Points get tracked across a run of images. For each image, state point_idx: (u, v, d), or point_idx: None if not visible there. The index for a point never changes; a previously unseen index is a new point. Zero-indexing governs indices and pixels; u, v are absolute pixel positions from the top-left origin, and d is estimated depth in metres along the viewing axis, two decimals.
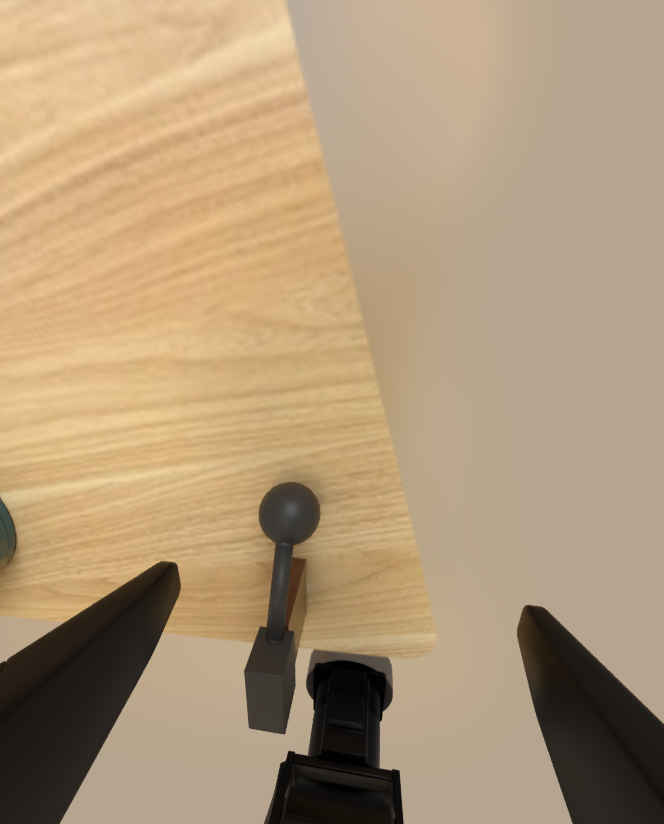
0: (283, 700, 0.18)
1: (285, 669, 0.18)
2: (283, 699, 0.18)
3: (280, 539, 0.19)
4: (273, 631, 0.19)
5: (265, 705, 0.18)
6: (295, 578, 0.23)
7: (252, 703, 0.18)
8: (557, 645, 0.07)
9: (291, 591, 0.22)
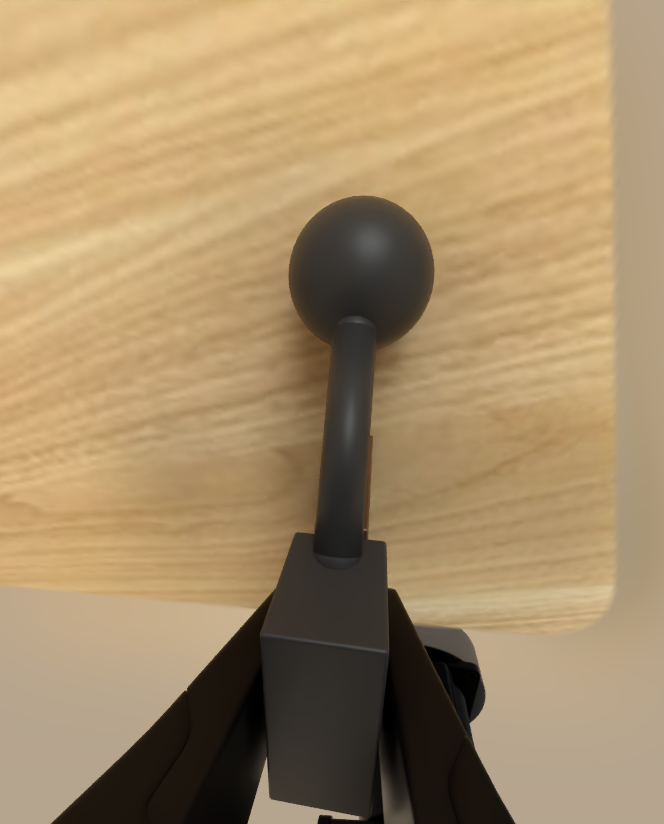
0: (379, 726, 0.06)
1: None
2: (379, 723, 0.06)
3: (349, 304, 0.07)
4: (337, 532, 0.07)
5: (321, 740, 0.06)
6: None
7: (282, 734, 0.06)
8: None
9: None
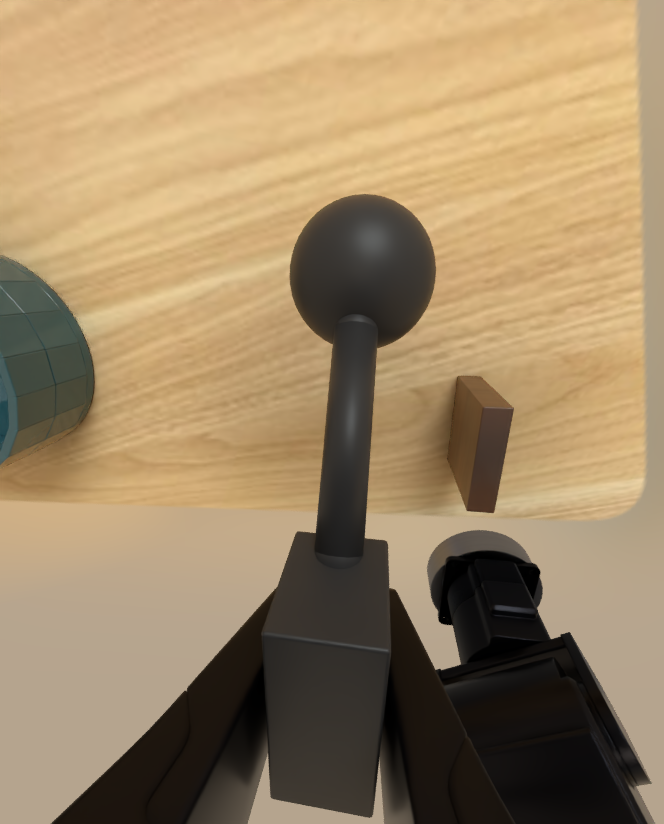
0: (381, 726, 0.06)
1: (389, 630, 0.06)
2: (381, 723, 0.06)
3: (350, 302, 0.07)
4: (338, 531, 0.07)
5: (323, 739, 0.06)
6: (482, 384, 0.17)
7: (283, 733, 0.06)
8: None
9: (488, 391, 0.16)
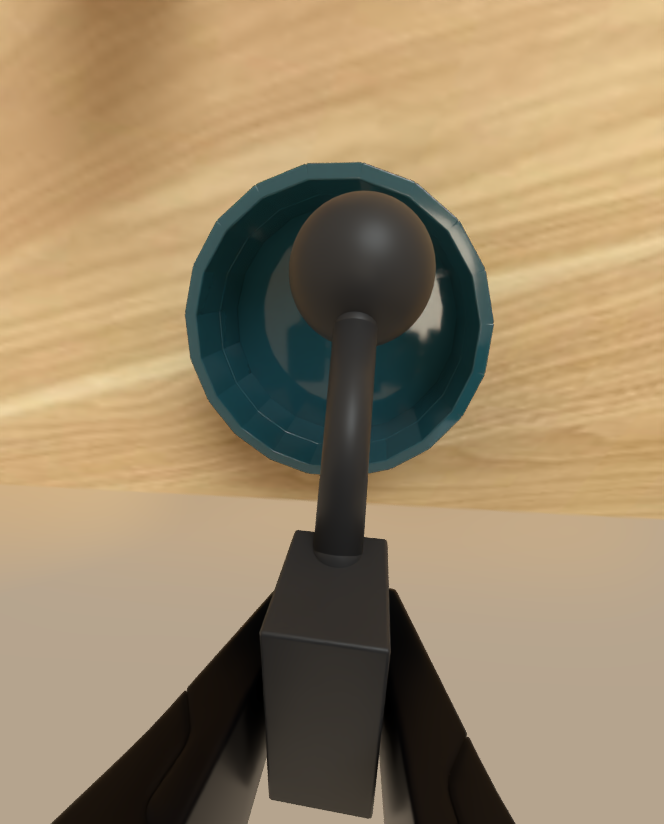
0: (380, 726, 0.06)
1: (388, 629, 0.06)
2: (380, 723, 0.06)
3: (350, 299, 0.07)
4: (337, 530, 0.07)
5: (321, 740, 0.06)
6: None
7: (282, 733, 0.06)
8: None
9: None
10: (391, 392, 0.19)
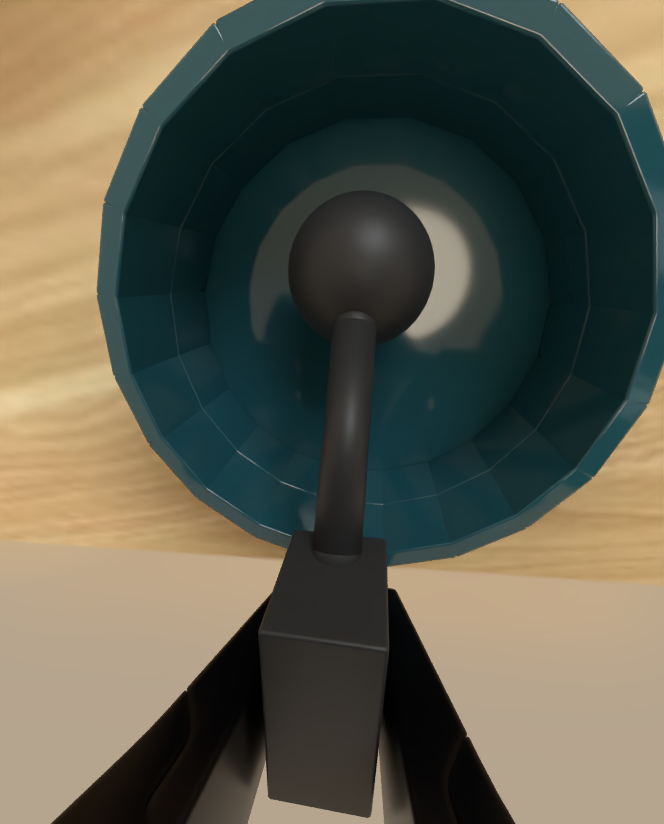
0: (379, 725, 0.06)
1: (387, 628, 0.06)
2: (379, 722, 0.06)
3: (349, 299, 0.07)
4: (336, 529, 0.07)
5: (320, 739, 0.06)
6: None
7: (281, 732, 0.06)
8: None
9: None
10: (438, 418, 0.13)
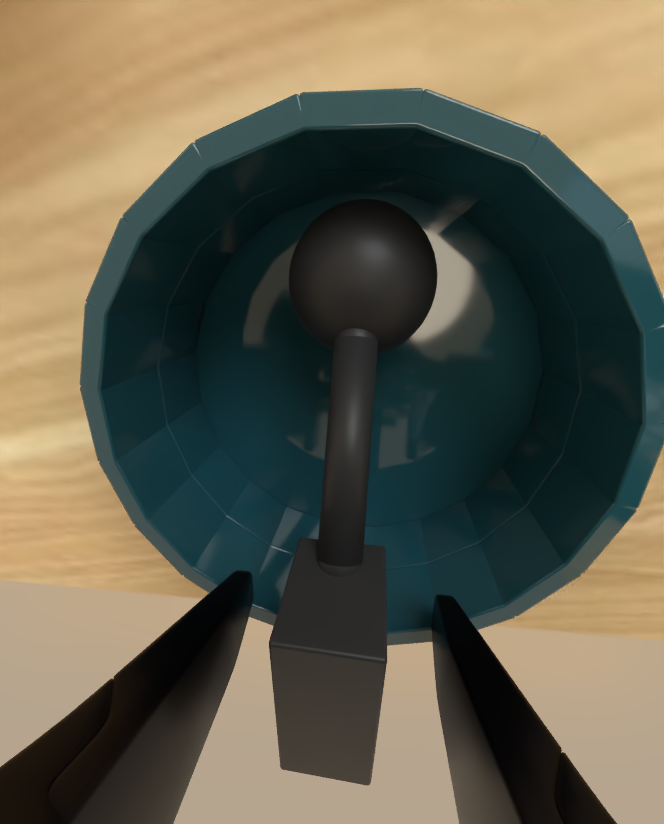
0: (377, 717, 0.06)
1: (385, 638, 0.06)
2: (378, 715, 0.06)
3: (350, 317, 0.07)
4: (339, 543, 0.07)
5: (326, 726, 0.07)
6: None
7: (291, 721, 0.07)
8: (452, 631, 0.07)
9: None
10: (430, 478, 0.12)
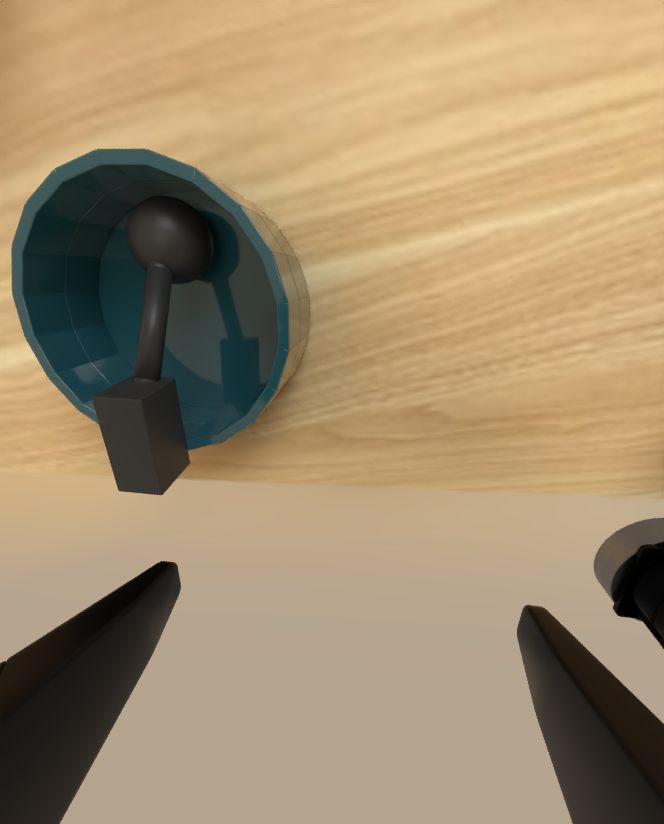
0: (149, 440, 0.14)
1: (148, 398, 0.13)
2: (148, 438, 0.14)
3: (149, 256, 0.15)
4: (141, 367, 0.14)
5: (129, 451, 0.14)
6: None
7: (113, 449, 0.14)
8: (557, 645, 0.07)
9: None
10: (250, 373, 0.20)
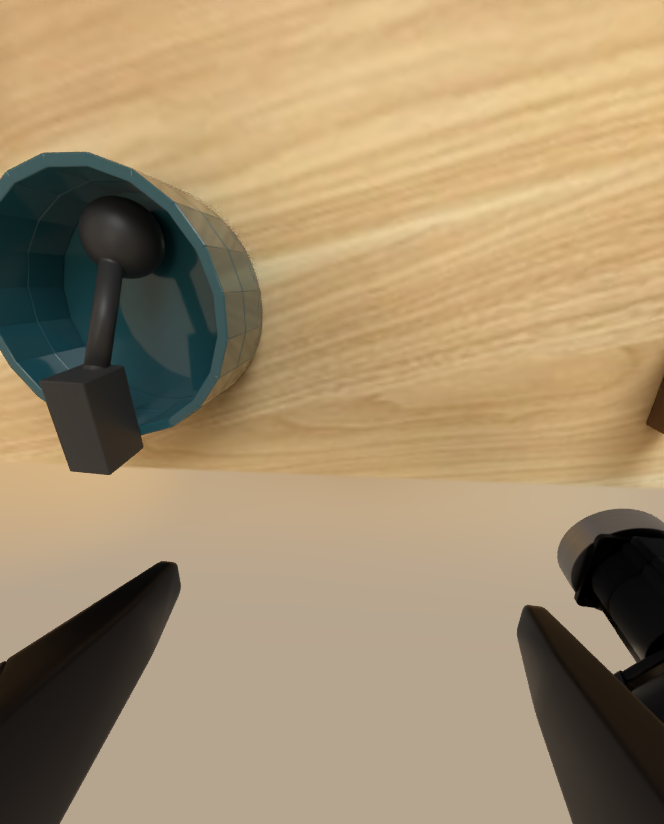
0: (93, 421, 0.15)
1: (92, 382, 0.14)
2: (93, 420, 0.15)
3: (99, 251, 0.16)
4: (89, 355, 0.15)
5: (76, 432, 0.15)
6: None
7: (62, 431, 0.15)
8: (557, 645, 0.07)
9: None
10: (207, 364, 0.21)
